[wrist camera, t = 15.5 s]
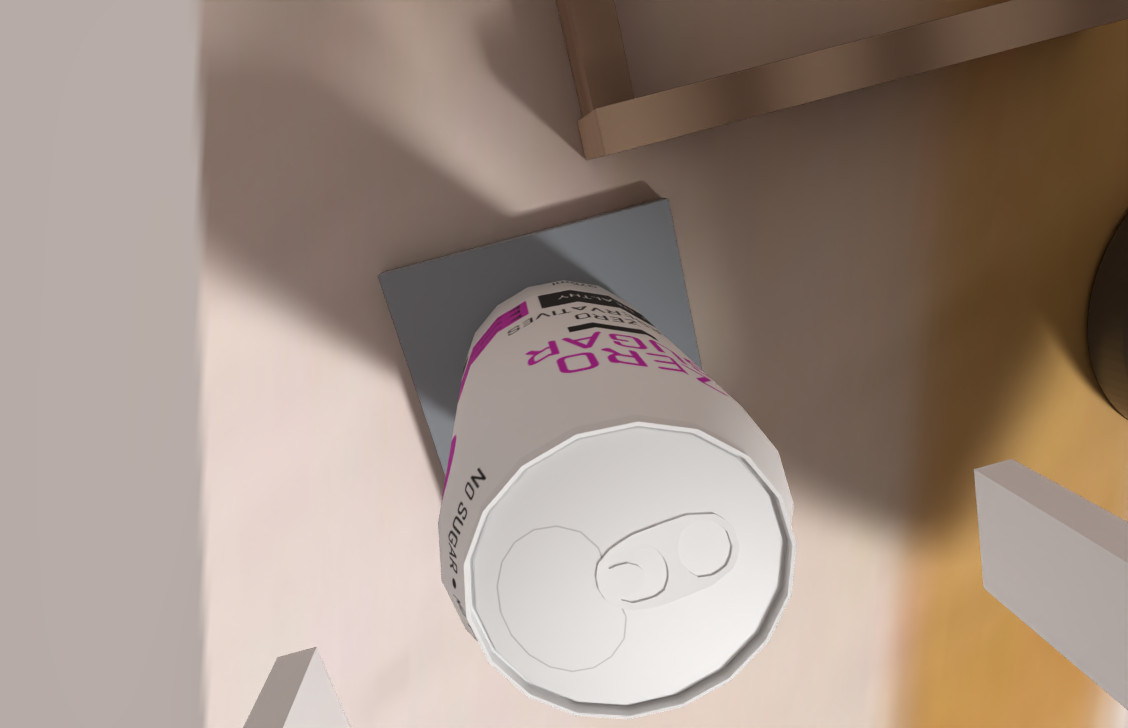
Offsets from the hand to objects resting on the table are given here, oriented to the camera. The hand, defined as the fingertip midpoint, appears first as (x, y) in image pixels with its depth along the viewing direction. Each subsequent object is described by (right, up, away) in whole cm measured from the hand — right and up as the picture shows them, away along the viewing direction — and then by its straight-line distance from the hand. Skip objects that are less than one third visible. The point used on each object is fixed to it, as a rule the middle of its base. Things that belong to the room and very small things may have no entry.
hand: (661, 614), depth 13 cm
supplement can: (-2, +5, +15) cm, 16 cm away
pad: (-2, +5, +16) cm, 17 cm away
